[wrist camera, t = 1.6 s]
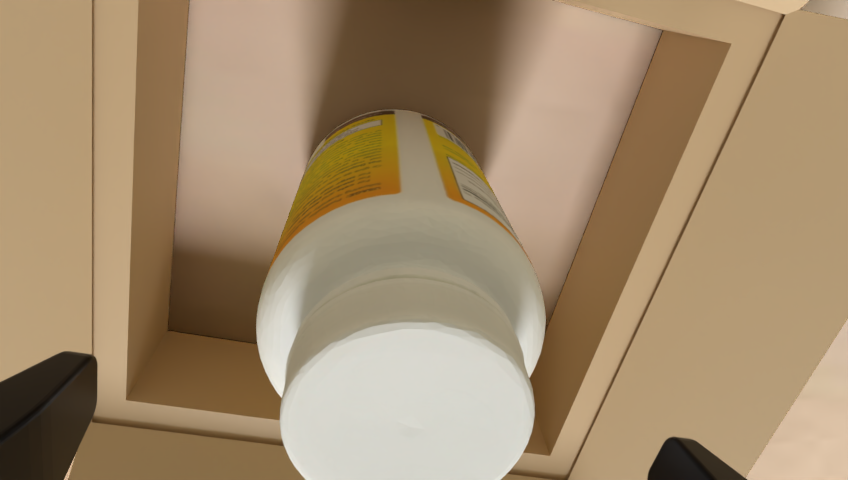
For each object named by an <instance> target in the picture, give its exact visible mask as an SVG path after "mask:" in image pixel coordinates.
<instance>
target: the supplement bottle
mask: <svg viewBox="0 0 848 480" xmlns="http://www.w3.org/2000/svg"><path fill="white" fill-rule="evenodd" d="M545 325H546V315H545V305H544V300H543V295H542V291H541V288H540V284H539V281H538V278H537V276H536V273H535V271H534V268H533V266H532V264H531V262H530V260H529V258H528V256H527V254H526V253H525V251H524V249H523V246H522V244H521V242H520V241H519V239H518V238H517V236H516V234H515V232H514V230H513V228H512V226H511V224H510V223H509V221H508V219H507V217H506V215H505V213H504V211H503V209H502V207H501V206H500V204H499V202H498V200H497V198H496V196H495V194H494V192H493V190H492V189H491V187H490V185H489V183H488V181H487V179H486V177H485V176H484V173H483V172H482V170H481V168H480V166H479V164H478V163H477V161H476V159H475V157H474V155H473V154H472V152H471V151H470V149H469V148H468V146H467V145H466V144H465V142H464V141H463V140H462V139H461V138H460V137H459V136H458V135H457V134H456V133H455V132H454V131H452V130H451V129H450V128H448V127H447V126H446V125H444V124H443V123H441V122H439V121H438V120H436V119H434V118H431V117H429V116H427V115H424V114H421V113H418V112H413V111H409V110H398V109H386V110H378V111H373V112H368V113H365V114H361V115H359V116H356V117H354V118H352V119H350V120H348V121H346V122H345V123H343V124H341V125H340V126H338V127H337V128H335V129H334V130H333V131H332V132H330V133H329V134H328V135H327V136H326V137H325V138H324V139H323V140H322V142H321V143H320V144H319V145H318V147H317V148H316V150H315V151H314V153H313V154H312V156H311V158H310V160H309V162H308V164H307V167H306V170H305V172H304V175H303V177H302V180H301V183H300V186H299V189H298V191H297V194H296V197H295V200H294V202H293V205H292V208H291V210H290V213H289V216H288V219H287V221H286V224H285V227H284V230H283V232H282V235H281V238H280V241H279V243H278V246H277V249H276V252H275V255H274V257H273V260H272V262H271V265H270V268H269V271H268V274H267V277H266V279H265V282H264V285H263V288H262V292H261V296H260V300H259V304H258V310H257V320H256V335H257V345H258V350H259V355H260V359H261V361H262V364H263V367H264V369H265V372H266V374H267V376H268V378H269V380H270V382H271V384H272V385H273V387H274V388H275V390H276V392H277V393H278V394H279V395H280V397H281V398H282V399H281V406H280V421H279V422H280V430H281V437H282V440H283V444H284V447H285V449H286V452H287V454H288V456H289V458H290V460H291V461H292V463H293V465H294V466H295V468H296V469H297V470H298V471H299V473H300V474H301V475H302V476H303V477H304V478H305V479H306V480H501V479H502V478H503V477H504V476H505V475H506V474H507V473H508V472H509V471H510V470H511V469H512V467H513V466H514V465H515V464H516V463H517V461H518V460H519V459H520V457H521V455H522V453H523V452H524V450H525V448H526V446H527V444H528V441H529V439H530V436H531V433H532V429H533V424H534V418H535V402H534V395H533V388H532V385H531V382H530V379H529V378H530V376H531V374H532V372H533V370H534V368H535V366H536V364H537V361H538V359H539V356H540V354H541V350H542V345H543V341H544V335H545Z"/></svg>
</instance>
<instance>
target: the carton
mask: <svg viewBox="0 0 848 480" xmlns="http://www.w3.org/2000/svg"><path fill="white" fill-rule="evenodd" d="M554 1H558V2H562V3H565V4H569V5H573V6H576V7H580V8H584V9H587V10H591V11H595V12H599V13H602V14H606V15H610V16H613V17H617V18H621V19H624V20H628V21H632V22H635V23H639V24H643V25H647V26H650V27H654V28H658V29H661V30H663V33H662V35H661V38H660V40H659V43H658V45H657V48H656V51H655V53H654V56H653V58H652V61H651V63H650V66H649V69H648V71H647V74H646V76H645V79H644V81H643V84H642V86H641V89H640V92H639V94H638V97H637V99H636V102H635V104H634V107H633V110H632V112H631V115H630V117H629V120H628V122H627V125H626V128H625V130H624V133H623V135H622V138H621V140H620V143H619V145H618V148H617V151H616V153H615V156H614V158H613V161H612V163H611V166H610V169H609V171H608V174H607V176H606V179H605V181H604V184H603V187H602V189H601V192H600V194H599V197H598V199H597V202H596V204H595V207H594V210H593V212H592V215H591V217H590V220H589V222H588V225H587V228H586V230H585V233H584V235H583V238H582V240H581V243H580V245H579V248H578V251H577V253H576V256H575V258H574V261H573V263H572V266H571V269H570V271H569V274H568V276H567V279H566V281H565V284H564V287H563V289H562V292H561V294H560V297H559V299H558V302H557V304H556V307H555V310H554V312H553V315H552V317H551V320H550V322H549V325H548V328H547V330H546V333H545V335H544V341H543V345H542V350H541V354H540V356H539V359H538V361H537V364H536V366H535V368H534V370H533V372H532V374H531V376H530V378H529V379H530V382H531V385H532V388H533V395H534V402H535V418H534V424H533V429H532V433H531V436H530V439H529V441H528V444H527V446H526V448H525V450H524V452H523V453H522V455H521V457H520V459H519V460H518V461H517V463H516V464H515V465H514V466H513V467H512V469H511V470H510V471H509V472H508V473H507V474H506V475H505V476H504V477H503V478H502V479H501V480H647V477H648V472H649V469H650V467H651V465H652V464H653V462H654V460H655V458H656V456H657V454H658V452H659V451H660V449H661V447H662V445H663V443H664V442H665V440H666V439H668V438H669V437H674V436H675V437H682V438H689V439H693V440H695V441H697V442H698V443H700V444H701V445H702V446H704V447H705V448H706V449H708V450H709V451H710V452H712V453H713V454H714V455H716V456H717V457H718V458H719V459H721V460H722V461H723V462H725V463H726V464H727V465H729V466H730V467H731V468H733V469H734V470H735V471H737V472H738V473H739V474H741V475H742V476H743V477H745V478H746V476H747V475H748V473H749V472H750V470H751V469H752V467H753V465H754V464H755V462H756V461H757V459H758V458H759V456H760V454H761V453H762V451H763V450H764V448H765V447H766V445H767V444H768V442H769V440H770V439H771V437H772V436H773V434H774V433H775V431H776V430H777V428H778V426H779V425H780V423H781V422H782V420H783V419H784V417H785V416H786V414H787V412H788V411H789V409H790V408H791V406H792V405H793V403H794V401H795V400H796V398H797V397H798V395H799V394H800V392H801V391H802V389H803V387H804V386H805V384H806V383H807V381H808V380H809V378H810V377H811V375H812V373H813V372H814V370H815V369H816V367H817V366H818V364H819V363H820V361H821V359H822V358H823V356H824V355H825V353H826V352H827V350H828V349H829V347H830V345H831V344H832V342H833V341H834V339H835V338H836V336H837V334H838V333H839V331H840V330H841V328H842V327H843V325H844V324H845V322H846V320H847V319H848V20H847V19H842V18H837V17H832V16H827V15H822V14H817V13H812V12H808V11H803V10H799V9H800V8H801V7H803V6H804V5H805V4H806V3H807V2H808V1H810V0H554ZM188 8H189V0H0V382H1V381H3V380H5V379H7V378H9V377H11V376H13V375H15V374H17V373H19V372H21V371H23V370H25V369H27V368H29V367H31V366H33V365H36V364H38V363H40V362H42V361H44V360H46V359H48V358H50V357H52V356H54V355H56V354H58V353H60V352H63V351H73V352H80V353H87V354H92V355H93V356H95V357H96V360H97V365H98V370H97V405H96V409H95V412H94V415H93V418H92V420H91V422H90V424H89V426H88V428H87V431H86V433H85V435H84V437H83V439H82V441H81V443H80V446H79V448H78V450H77V453H76V456H75V460H74V463H73V466H72V469H71V472H70V475H69V478H68V480H306V479H305V478H304V477H303V476H302V475H301V474H300V473H299V471H298V470H297V469H296V468H295V466H294V465H293V463H292V461H291V460H290V458H289V456H288V454H287V452H286V449H285V447H284V444H283V440H282V437H281V430H280V422H279V421H280V406H281V399H282V398H281V397H280V395H279V394H278V393H277V392H276V390H275V388H274V387H273V385H272V384H271V382H270V380H269V378H268V376H267V374H266V372H265V369H264V367H263V364H262V361H261V359H260V355H259V350H258V345H257V344H252V343H245V342H239V341H232V340H226V339H219V338H213V337H206V336H199V335H193V334H186V333H180V332H173V331H167V330H168V315H169V299H170V284H171V269H172V253H173V238H174V223H175V207H176V192H177V177H178V162H179V146H180V131H181V116H182V100H183V85H184V70H185V54H186V39H187V24H188Z"/></svg>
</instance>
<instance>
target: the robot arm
mask: <svg viewBox="0 0 848 480" xmlns="http://www.w3.org/2000/svg"><path fill="white" fill-rule="evenodd" d="M97 370H98V365H97V360H96V357H95V356H93V355H92V354H87V353H80V352H73V351H63V352H60V353H58V354H56V355H54V356H52V357H50V358H48V359H46V360H44V361H42V362H40V363H38V364H36V365H33V366H31V367H29V368H27V369H25V370H23V371H21V372H19V373H17V374H15V375H13V376H11V377H9V378H7V379H5V380H3V381H1V382H0V480H64V478H65V476H66V473H67V471H68V469H69V467H70V465H71V463H72V461H73V458H74V456H75V454H76V452H77V450H78V448H79V446H80V443H81V441H82V439H83V437H84V435H85V433H86V431H87V428H88V426H89V424H90V422H91V420H92V418H93V415H94V412H95V409H96V405H97ZM647 480H747V479H746V478H745V477H743V476H742V475H741V474H739V473H738V472H737V471H735V470H734V469H733V468H731V467H730V466H729V465H727V464H726V463H725V462H723V461H722V460H721V459H719V458H718V457H717V456H716V455H714V454H713V453H712V452H710V451H709V450H708V449H706V448H705V447H704V446H702V445H701V444H700V443H698V442H697V441H695V440H693V439H689V438H682V437H675V436H674V437H669V438H668V439H666V440H665V442H664V443H663V445H662V447H661V449H660V451H659V452H658V454H657V456H656V458H655V460H654V462H653V464H652V465H651V467H650V469H649V472H648V477H647Z"/></svg>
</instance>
